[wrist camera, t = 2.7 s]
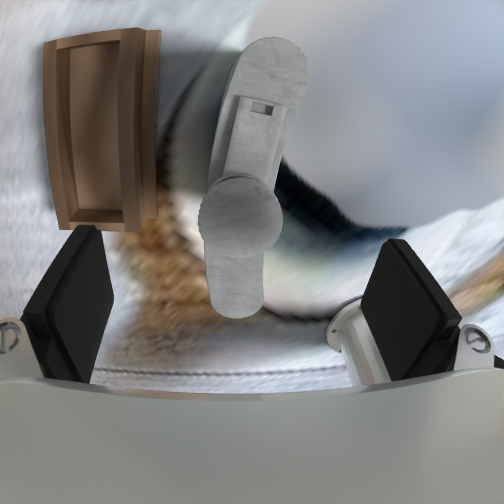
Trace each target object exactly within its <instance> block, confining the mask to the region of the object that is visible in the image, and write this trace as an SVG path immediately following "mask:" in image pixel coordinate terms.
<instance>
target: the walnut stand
mask: <svg viewBox="0 0 504 504" xmlns="http://www.w3.org/2000/svg"><path fill="white" fill-rule="evenodd" d="M160 39H161V31H160V30H148V31H146V30H143V29H140V28H127V29H118V30H109V31H102V32H95V33H89V34H83V35H77V36H72V37H67V38H62V39H57V40H53V41H49V42H45V43H44V53H43V105H44V124H45V137H46V147H47V157H48V165H49V173H50V180H51V186H52V193H53V199H54V204H55V210H56V215H57V220H58V225H59V230H74V229H75V228H76V226H77V225H95V226H96V228H97V229H98V230H101V231H116V232H139V231H140V228H141V226H142V224H143V222H144V220H145V219H156V218H157V215H158V211H157V181H156V114H157V86H158V67H159V52H160Z"/></svg>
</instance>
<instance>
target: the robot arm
mask: <svg viewBox="0 0 504 504" xmlns="http://www.w3.org/2000/svg"><path fill="white" fill-rule="evenodd" d="M113 302H114V294H113V289H112V284H111V280H110V275H109V270H108V265H107V260H106V255H105V249H104V244H103V238H102V233H101V230H98V229H97V228H96V226H95V225H77V226H76V228H75V229H74V231H73V232H72V233H71V235H70V236H69V238H68V239H67V241H66V242H65V244H64V245H63V247H62V248H61V250H60V251H59V253H58V254H57V256H56V257H55V259H54V260H53V262H52V264H51V265H50V267H49V268H48V270H47V271H46V273H45V275H44V276H43V278H42V280H41V281H40V283H39V285H38V286H37V288H36V290H35V291H34V293H33V295H32V297H31V298H30V300H29V302H28V304H27V306H26V307H25V309H24V311H23V315H22V317H21V319H20V320H19V319H16V318H5V319H2V320H0V504H504V360H503V359H501V358H499V357H497V356H496V355H494V343H493V341H492V339H491V337H490V336H489V334H488V333H487V332H486V331H485V330H483V329H482V328H480V327H479V326H476V325H474V324H466V325H464V326H463V327H462V328H461V329H460V328H459V327H458V324H459V323H460V321H461V320H462V317H461V316H460V314H459V313H458V311H457V310H456V308H455V307H454V305H453V304H452V302H451V301H450V299H449V298H448V297H447V295H446V294H445V292H444V291H443V289H442V288H441V287H440V285H439V284H438V282H437V281H436V280H435V278H434V277H433V276H432V274H431V273H430V272H429V270H428V269H427V267H426V266H425V265H424V264H423V262H422V261H421V260H420V258H419V257H418V256H417V254H416V253H415V252H414V251H413V249H412V248H411V247H410V245H409V244H408V243H407V242H406V241H405V240H403V239H391V238H390V239H388V240H387V242H385V243H383V245H382V247H381V250H380V253H379V255H378V258H377V261H376V263H375V266H374V269H373V271H372V274H371V277H370V279H369V282H368V284H367V287H366V289H365V292H364V294H363V297H362V299H359V300H356V301H354V302H352V303H350V304H349V305H347V306H345V307H344V308H343V309H342V310H340V311H339V312H338V313H337V314H336V315H335V316H334V317H333V319H332V320H331V322H330V323H329V325H328V328H327V333H326V335H327V340H328V343H329V345H330V347H331V348H332V349H333V350H334V351H336V352H338V353H341V354H343V357H344V360H345V364H346V367H347V370H348V373H349V376H350V379H351V383H352V386H353V387H348V388H338V389H328V390H316V391H302V392H285V393H256V394H213V393H183V392H166V391H153V390H141V389H131V388H121V387H111V386H103V385H95V384H89V382H90V379H91V375H92V371H93V368H94V364H95V361H96V357H97V354H98V350H99V347H100V343H101V340H102V337H103V334H104V330H105V327H106V324H107V321H108V318H109V315H110V312H111V309H112V306H113Z"/></svg>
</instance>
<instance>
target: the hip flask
mask: <svg viewBox="0 0 504 504" xmlns="http://www.w3.org/2000/svg"><path fill="white" fill-rule="evenodd" d="M309 77H310V67H309V63H308V60H307V57H306V56H305V54H304V52H303V51H302V50H301V49H300V48H299V47H298V46H297V45H295V44H294V43H292V42H291V41H288V40H286V39H283V38H277V37H269V38H268V37H267V38H263V39H259V40H257V41H255V42H253V43H251V44H250V45H249V46H248V47H246V49H245V50H244V51H243V52H242V53H241V54H240V55H239V56H238V57H237V59H236V60H235V61H234V63H233V66H232V69H231V71H230V74H229V77H228V80H227V83H226V87H225V91H224V94H223V99H222V103H221V108H220V113H219V118H218V123H217V128H216V133H215V138H214V143H213V148H212V154H211V161H210V167H209V174H208V183H207V193H206V196H205V197H204V198H203V202H202V203H201V205H200V210H199V215H198V226H199V232H200V234H201V237H202V239H203V240H204V251H205V268H206V277H207V284H208V290H209V296H210V301H211V304H212V307H213V308H214V310H215V311H217V312H218V313H219V314H221V315H223V316H225V317H229V318H245V317H248V316H251V315H253V314H254V313H256V312H257V311H258V310H259V309H260V308H261V306H262V305H263V301H264V291H263V262H264V251H266V250H268V249H269V248H270V247H271V246H272V245H273V244H274V243H275V241H276V240H277V239H278V238H279V234H280V233H281V231H282V226H283V221H282V220H283V215H282V210H281V208H280V204H279V203H278V199H277V197H276V196H275V195H274V192H273V191H274V186H275V182H276V177H277V173H278V169H279V164H280V161H281V157H282V154H283V150H284V147H285V143H286V140H287V137H288V134H289V130H290V127H291V124H292V121H293V119H294V116H295V113H296V111H297V108H298V105H299V103H300V100H301V98H302V96H303V93H304V91H305V89H306V86H307V84H308V81H309Z"/></svg>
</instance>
